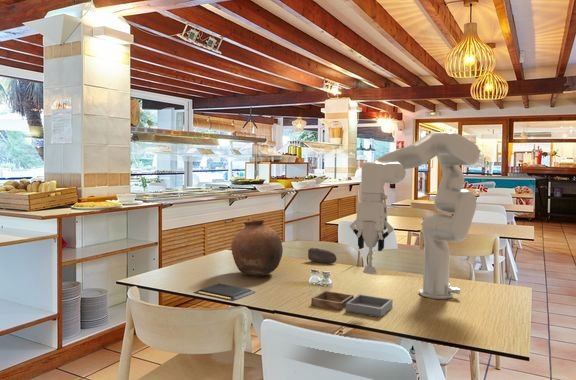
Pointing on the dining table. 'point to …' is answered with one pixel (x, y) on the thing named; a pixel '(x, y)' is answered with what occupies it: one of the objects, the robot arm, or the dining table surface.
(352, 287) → the dining table surface
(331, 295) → the tray
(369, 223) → the chalice
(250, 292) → the dark grey book
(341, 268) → the dining table surface
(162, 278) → the dining table surface
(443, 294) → the robot arm
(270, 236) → the pottery
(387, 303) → the parts tray
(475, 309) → the dining table surface
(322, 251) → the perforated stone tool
